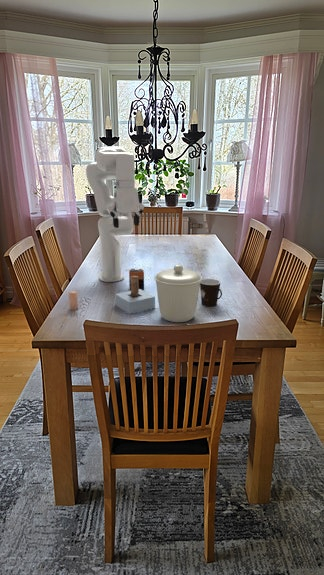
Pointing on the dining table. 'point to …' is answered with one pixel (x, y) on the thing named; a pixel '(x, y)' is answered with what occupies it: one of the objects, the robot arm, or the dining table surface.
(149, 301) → the hole block
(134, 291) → the long dowel
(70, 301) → the short dowel
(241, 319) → the dining table surface
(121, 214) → the robot arm
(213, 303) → the coffee mug
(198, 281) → the canister
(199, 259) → the dining table surface
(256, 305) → the dining table surface
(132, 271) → the battery
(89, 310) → the dining table surface
